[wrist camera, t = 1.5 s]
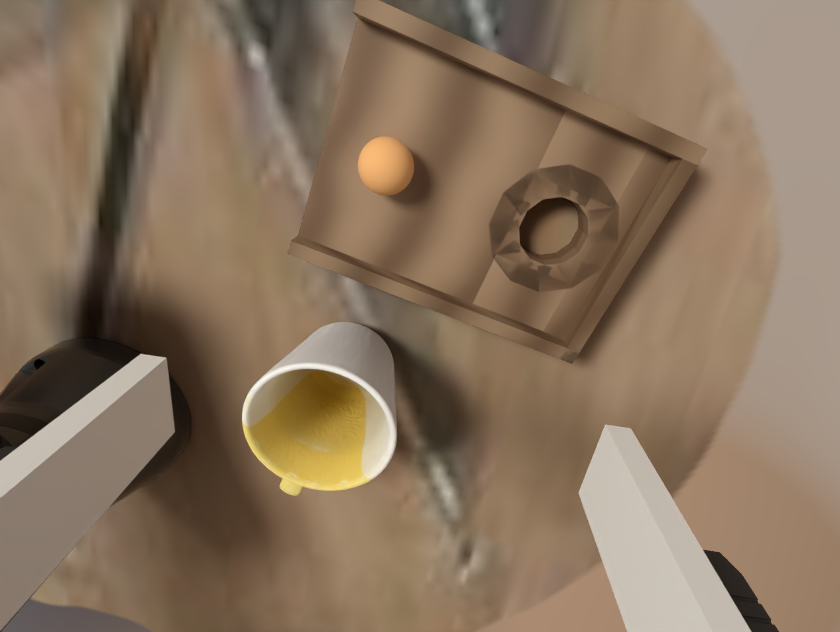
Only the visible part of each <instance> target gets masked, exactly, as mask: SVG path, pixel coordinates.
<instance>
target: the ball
mask: <svg viewBox="0 0 840 632" xmlns="http://www.w3.org/2000/svg"><path fill="white" fill-rule="evenodd" d="M358 172H359V175H360V178H361V180H362V182H363V183H364V185H365V186H366V187H367V188H368V189H369V190H371V191H372V192H374V193H376V194H379V195H385V196H389V195H394V194H397V193H399V192H401V191H402V190H404V189H405V188H406V187H407V186H408V184H409V183H410V181H411V179H412V176H413V173H414V161H413V157H412V154H411V152H410V150H409V149H408V147H407V146H406V145H405V144H404V143H403V142H401V141H400V140H398V139H396V138H393V137H388V136H383V137H377V138H375V139H373V140H371V141H370V142H368V143H367V144H366V145H365V146H364V148H363V149H362V151H361V153H360V155H359V159H358Z"/></svg>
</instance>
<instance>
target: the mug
mask: <svg viewBox="0 0 840 632" xmlns="http://www.w3.org/2000/svg"><path fill="white" fill-rule="evenodd" d="M242 425H243V430H244V434H245V437H246V440H247V442H248V444H249V446H250V448H251V449H252V451H253V453H254V454H255V455H256V457H257V458H258V459H259V460H260V461H261V462H262V463H263V464H264V465H265V466H266V467H267V468H268V469H269V470H271V471H272V472H273V473H275V474H276V475H278V476H279V477H281V478H283V479H282V481H281V483H280V489H281V490H283V491H284V492H286V493H287V494H290V495H294V496H297V495H299V494H300V493H301V491H302V489H303V487H306V488H311V489H316V490H326V491H337V490H345V489H351V488H354V487H357V486H360V485H363V484H365V483H367V482H369V481H371V480H372V479H374V478H375V477H376V476H378V475H379V474H380V473H381V472H382V471H383V470H384V469H385V468H386V466H387V465H388V464H389V462H390V461H391V458H392V456H393V454H394V451H395V448H396V443H397V416H396V398H395V377H394V361H393V357H392V354H391V351H390V349H389V347H388V346H387V344H386V343H385V341H384V340H383V339H382V338H381V337H380V336H379V335H378V334H377V333H375V332H374V331H372V330H371V329H369V328H367V327H365V326H363V325H360V324H356V323H351V322H337V323H332V324H328V325H326V326H323V327H321V328H319V329H318V330H316V331H315V332H314V333H313V334H311V335H310V336H309V337H308V338H307V339H306V340H305V341H304V342H302V343H301V344H300V345H299V346H298V347H297V348H295V349H294V350H293V351H292V352H291V353H289V354H288V355H287V356H286V357H285V358H283V359H282V360H281V361H280V362H279V363H277V364H276V365H275V366H274V367H273V368H271V369H270V370H269V371H268V372H267V373H266V374H265V375H264V376H263V377H262V378H261V379H260V380H259V381H258V382H257V383H256V384H255V385H254V386H253V387H252V389H251V390H250V392H249V393H248V395H247V397H246V400H245V402H244V406H243V412H242Z"/></svg>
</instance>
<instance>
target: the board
mask: <svg viewBox="0 0 840 632" xmlns="http://www.w3.org/2000/svg"><path fill="white" fill-rule="evenodd" d="M353 13H354V14H355V15H356V16H357V17H358V19H357V22H356V26H355V30H354V33H353V37H352V41H351V44H350V48H349V52H348V55H347V59H346V63H345V66H344V70H343V74H342V77H341V81H340V84H339V88H338V92H337V95H336V99H335V103H334V106H333V110H332V114H331V117H330V121H329V125H328V128H327V132H326V135H325V139H324V143H323V146H322V150H321V154H320V157H319V161H318V165H317V168H316V172H315V176H314V179H313V183H312V186H311V190H310V194H309V197H308V201H307V205H306V208H305V212H304V216H303V219H302V223H301V227H300V230H299V234H298V236H297V237H295V238H294V239H293V240H291V243H290V247H289V250H288V254H289V255H292V256H294V257H297V258H300V259H302V260H305V261H307V262H310V263H313V264H315V265H318V266H320V267H323V268H326V269H328V270H331V271H333V272H336V273H338V274H341V275H344V276H346V277H349V278H351V279H354V280H357V281H359V282H362V283H364V284H367V285H370V286H372V287H375V288H377V289H380V290H382V291H385V292H388V293H390V294H393V295H395V296H398V297H401V298H403V299H406V300H408V301H411V302H414V303H416V304H419V305H421V306H424V307H427V308H429V309H432V310H434V311H437V312H439V313H442V314H445V315H447V316H450V317H452V318H455V319H458V320H460V321H463V322H465V323H468V324H471V325H473V326H476V327H478V328H481V329H483V330H486V331H489V332H491V333H494V334H496V335H499V336H502V337H504V338H507V339H509V340H512V341H515V342H517V343H520V344H522V345H525V346H528V347H530V348H533V349H535V350H538V351H540V352H543V353H546V354H548V355H551V356H553V357H556V358H559V359H561V360H564V361H566V362H569V363H573V362H574V360H575V359H576V357H577V356H578V354H579V352H580V351H581V349H582V348H583V346H584V344H585V343H586V341H587V340H588V338H589V336H590V335H591V333H592V332H593V330H594V329H595V327H596V325H597V324H598V322H599V321H600V319H601V317H602V316H603V314H604V313H605V311H606V309H607V308H608V306H609V305H610V303H611V302H612V300H613V298H614V297H615V295H616V294H617V292H618V290H619V289H620V287H621V286H622V284H623V283H624V281H625V279H626V278H627V276H628V275H629V273H630V271H631V270H632V268H633V267H634V265H635V263H636V262H637V260H638V259H639V257H640V256H641V254H642V252H643V251H644V249H645V248H646V246H647V244H648V243H649V241H650V240H651V238H652V236H653V235H654V233H655V232H656V230H657V229H658V227H659V225H660V224H661V222H662V221H663V219H664V217H665V216H666V214H667V213H668V211H669V209H670V208H671V206H672V205H673V203H674V202H675V200H676V198H677V197H678V195H679V194H680V192H681V190H682V189H683V187H684V186H685V184H686V182H687V181H688V179H689V178H690V176H691V175H692V173H693V171H694V170H695V168H696V167H697V165H698V163H699V162H700V160H701V159H702V157H703V156H704V154H705V152H706V151H707V148H705V147H703V146H700V145H698V144H696V143H694V142H691V141H689V140H687V139H685V138H683V137H680V136H678V135H676V134H674V133H671V132H669V131H667V130H665V129H663V128H660V127H658V126H656V125H654V124H652V123H649V122H647V121H645V120H643V119H640V118H638V117H636V116H634V115H632V114H629V113H627V112H625V111H623V110H621V109H618V108H616V107H614V106H612V105H609V104H607V103H605V102H603V101H601V100H598V99H596V98H594V97H592V96H589V95H587V94H585V93H583V92H581V91H578V90H576V89H574V88H572V87H570V86H567V85H565V84H563V83H561V82H558V81H556V80H554V79H552V78H550V77H547V76H545V75H543V74H541V73H538V72H536V71H534V70H532V69H530V68H527V67H525V66H523V65H521V64H519V63H516V62H514V61H512V60H510V59H507V58H505V57H503V56H501V55H499V54H496V53H494V52H492V51H490V50H488V49H485V48H483V47H481V46H479V45H476V44H474V43H472V42H470V41H468V40H465V39H463V38H461V37H459V36H456V35H454V34H452V33H450V32H448V31H445V30H443V29H441V28H439V27H437V26H434V25H432V24H430V23H428V22H425V21H423V20H421V19H419V18H417V17H414V16H412V15H410V14H408V13H405V12H403V11H401V10H399V9H397V8H394V7H392V6H390V5H388V4H386V3H383V2H381V1H379V0H356V1H355V5H354V8H353ZM383 136H388V137H393V138H396V139H398V140H400V141H401V142H403V143H404V144H405V145H406V146H407V147H408V149H409V150H410V152H411V154H412V157H413V161H414V173H413V176H412V179H411V181H410V183H409V184H408V186H407V187H406V188H405V189H404V190H402V191H401V192H399V193H397V194H394V195H389V196H385V195H379V194H376V193H374V192H372V191H371V190H369V189H368V188H367V187H366V186H365V185H364V183H363V182H362V180H361V178H360V175H359V172H358V159H359V155H360V153H361V151H362V149H363V148H364V146H365V145H366V144H367V143H368V142H370V141H371V140H373V139H375V138H377V137H383ZM556 197H564V198H566V199H568V200H571V201H572V203H573V204H574V206H575V207H576V209H577V210H578V230H577V232H576V233H575V235H574V237H573V239H572V241H571V242H570V244H568V245H567V246H565V247H564V248H562V249H561V250H559V251H558V252H557V253H552V254H544V255H538V254H535V253H533V252H530V251H528V250H525V249H524V248H523V247H522V245H521V244H520V237H519V226H520V224H521V222H522V220H523V218H524V216H525V214H526V212H527V211H528V210H529V209H530V208H532V207H533V206H535V205H536V204H537V203H539V202H540V201H541V200H543V199H549V198H556Z"/></svg>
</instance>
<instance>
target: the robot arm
mask: <svg viewBox="0 0 840 632" xmlns="http://www.w3.org/2000/svg"><path fill="white" fill-rule="evenodd" d="M190 432H191V419H190V414H189V410H188V407H187V404H186V402H185V399H184V397H183V395H182V394H181V392H180V390H179V389H178V387H177V386H176V385H175V383H174V382H173V381H172V380H171V378H170V377H169V374H168V366H167V358H165V357H158V356H152V355H145V354H140V353H138V352H136V351H134V350H132V349H130V348H128V347H126V346H123V345H120V344H117V343H114V342H111V341H107V340H102V339H95V338H77V339H71V340H67V341H63V342H60V343H58V344H56V345H54V346H52V347H51V348H49V349H47V350H45V351H44V352H42V353H40V354H38V355H37V356H35V357H34V358H32V359H31V360H30V361H28V362H27V363H26V364H25V365H24V366H23V367H22V368H21V369H20V370H19V372H18V373H17V374H16V375H15V376H14V378H13V379H12V380H11V381H10V382H9V384H8V385H7V386H6V387H5V388H4V390H3V391H2V392H1V393H0V632H1V631H2V630H3V628H5V627H6V625H7V624H8V623H9V622H10V621H11V620H12V618H13V617H14V616H15V615H16V614H17V613H18V611H19V610H20V609H21V608H22V607H23V606H24V605H25V603H26V602H27V601H28V600H29V599H30V598H31V596H32V595H33V594H34V593H35V592H36V591H37V589H38V588H39V587H40V586H41V585H42V584H43V583H44V581H45V580H46V579H47V578H48V577H49V576H50V574H51V573H52V572H53V571H54V570H55V569H56V567H57V566H58V565H59V564H60V563H61V562H62V560H63V559H64V558H65V557H66V556H67V555H68V553H69V552H70V551H71V550H72V549H73V548H74V547H75V545H76V544H77V543H78V542H79V541H80V540H81V538H82V537H83V536H84V535H85V534H86V533H87V532H88V530H89V529H90V528H91V527H92V526H93V525H94V524H95V522H96V521H97V520H98V519H99V518H100V517H101V516H102V515H103V513H104V512H105V511H106V510H107V509H108V508H109V507H110V506H112V505H113V504H115V503H117V502H118V501H120V500H121V499H123V498H125V497H126V496H128V495H129V494H131V493H133V492H134V491H136V490H137V489H139V488H141V487H142V486H144V485H145V484H147V483H148V482H150V481H151V480H153V479H155V478H156V477H158V476H159V475H161V474H162V473H163V472H165V471H166V470H167V469H168V468H169V467H170V466H171V465H172V463H173V462H174V461H175V460H176V458H177V457H178V456H179V455H180V454H181V452H182V451H183V450H184V448H185V447H186V445H187V443H188V440H189V437H190ZM579 496H580V499H581V502H582V504H583V507H584V510H585V513H586V516H587V519H588V522H589V524H590V527H591V530H592V533H593V536H594V539H595V542H596V544H597V547H598V550H599V553H600V556H601V559H602V561H603V564H604V567H605V570H606V573H607V576H608V578H609V581H610V584H611V587H612V590H613V593H614V596H615V599H616V601H617V604H618V607H619V610H620V613H621V616H622V619H623V621H624V624H625V627H626V630H627V632H779V631H778V630H777V628H776V627H775V625H772V624H771V619H770V617H769V616H768V614H767V613H766V611H765V609H764V608H763V606H762V605H761V604H759V603H758V601H757V600H758V599H757V597H756V596H755V594H754V592H753V591H752V589H751V588H750V586H749V585H748V583H747V582H746V580H745V579H744V577H743V576H742V574H741V573H740V572H739V571H738V570H737V569H736V568H735V567H734V566H733V565H732V564H731V563H730V562H729V561H728V560H727V559H726V558H725V557H724V556H723V555H722V554H721V553H720V552H714V551H707V550H703V549H702V548H701V546H700V544H699V543H698V541H697V539H696V538H695V536H694V534H693V533H692V531H691V529H690V527H689V526H688V524H687V523H686V521H685V519H684V518H683V516H682V514H681V512H680V511H679V509H678V507H677V506H676V504H675V502H674V500H673V499H672V497H671V495H670V494H669V492H668V490H667V489H666V487H665V485H664V484H663V482H662V480H661V479H660V477H659V475H658V474H657V472H656V470H655V468H654V467H653V465H652V463H651V462H650V460H649V458H648V457H647V455H646V453H645V452H644V450H643V448H642V447H641V445H640V443H639V442H638V440H637V438H636V436H635V435H634V433H633V431H632V430H631V428H625V427H618V426H611V425H605V427H604V429H603V432H602V434H601V437H600V439H599V442H598V444H597V447H596V449H595V452H594V455H593V457H592V460H591V462H590V465H589V467H588V470H587V472H586V475H585V478H584V480H583V483H582V485H581V488H580V490H579Z"/></svg>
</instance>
